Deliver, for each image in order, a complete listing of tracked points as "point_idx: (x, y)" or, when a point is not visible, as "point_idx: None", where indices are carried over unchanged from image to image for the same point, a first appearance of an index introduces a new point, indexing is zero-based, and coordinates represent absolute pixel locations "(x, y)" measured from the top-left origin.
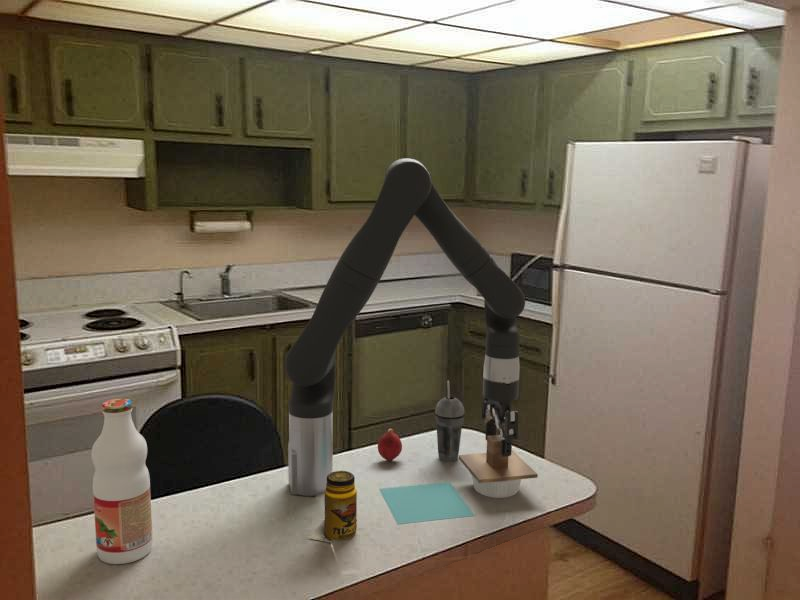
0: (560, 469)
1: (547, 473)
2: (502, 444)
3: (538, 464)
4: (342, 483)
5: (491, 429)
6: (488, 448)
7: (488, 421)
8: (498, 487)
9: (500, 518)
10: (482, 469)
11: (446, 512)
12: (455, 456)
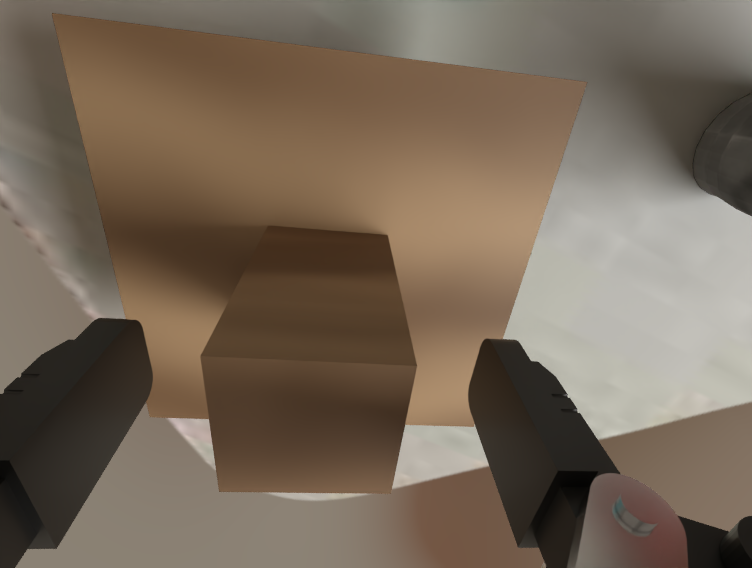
0: (416, 480)
1: (405, 442)
2: (7, 409)
3: (480, 446)
4: None
5: (516, 461)
6: (356, 289)
7: (575, 551)
8: None
9: (10, 92)
10: (262, 145)
11: None
12: (717, 173)
